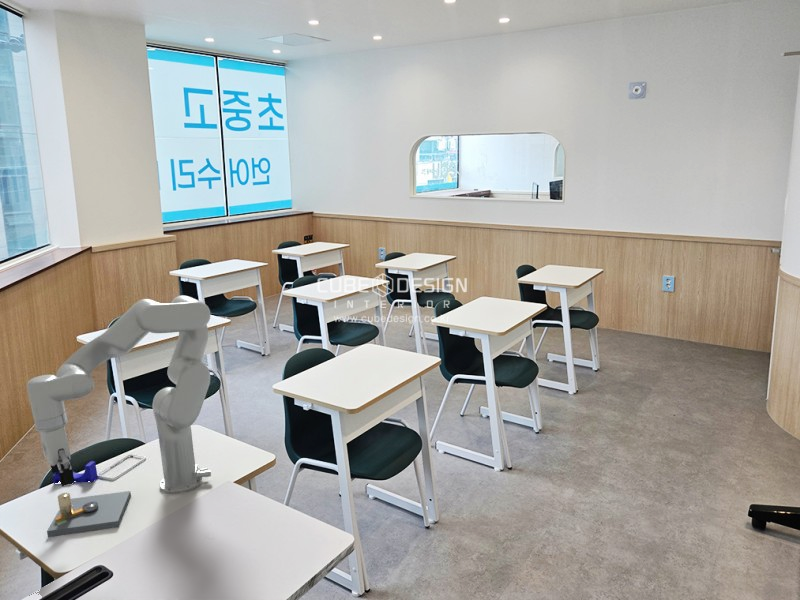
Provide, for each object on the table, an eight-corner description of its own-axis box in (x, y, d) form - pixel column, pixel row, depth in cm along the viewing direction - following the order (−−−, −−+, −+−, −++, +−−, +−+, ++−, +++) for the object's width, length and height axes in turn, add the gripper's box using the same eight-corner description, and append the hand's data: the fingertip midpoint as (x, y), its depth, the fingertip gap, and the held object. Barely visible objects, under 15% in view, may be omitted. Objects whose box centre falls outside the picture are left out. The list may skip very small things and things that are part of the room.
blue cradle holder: (54, 484, 190) (51, 467, 189) (63, 477, 195) (60, 460, 193) (89, 485, 189) (86, 468, 188) (97, 478, 193) (95, 461, 192)
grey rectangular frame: (113, 482, 191) (147, 460, 205) (113, 478, 191) (146, 456, 205) (95, 478, 194) (130, 457, 207) (95, 474, 193) (129, 453, 207)
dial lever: (96, 503, 174) (92, 482, 173) (100, 509, 171) (96, 487, 170) (54, 519, 167) (49, 496, 166) (57, 525, 164) (53, 502, 163)
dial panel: (131, 496, 182) (130, 490, 181) (118, 527, 166) (117, 520, 166) (66, 505, 178) (65, 498, 177) (48, 537, 163) (46, 530, 162)
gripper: (28, 415, 165) (40, 471, 169) (43, 435, 152) (56, 495, 157) (58, 407, 170) (69, 461, 174) (75, 425, 157) (87, 483, 161)
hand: (63, 477), depth 165 cm, fingers open, 9 cm apart
